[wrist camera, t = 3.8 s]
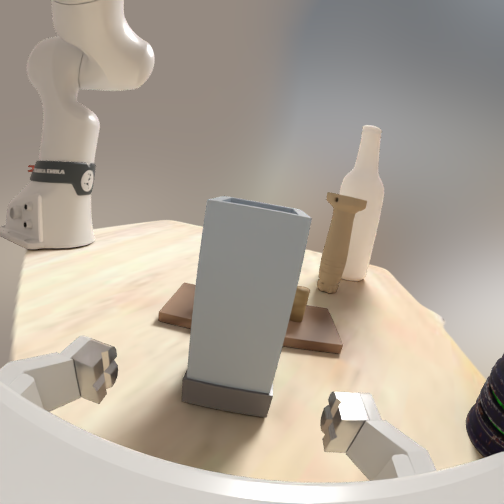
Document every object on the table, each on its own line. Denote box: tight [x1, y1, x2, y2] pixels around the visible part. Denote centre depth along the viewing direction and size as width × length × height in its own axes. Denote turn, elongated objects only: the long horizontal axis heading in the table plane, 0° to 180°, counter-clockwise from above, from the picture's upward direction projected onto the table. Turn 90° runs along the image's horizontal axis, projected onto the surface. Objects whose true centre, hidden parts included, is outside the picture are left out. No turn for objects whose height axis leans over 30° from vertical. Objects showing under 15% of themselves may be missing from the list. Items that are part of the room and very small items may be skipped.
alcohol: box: [339, 125, 384, 281], centre depth 54 cm, size 9×9×30 cm
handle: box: [317, 192, 367, 293], centre depth 44 cm, size 5×6×15 cm
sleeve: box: [182, 196, 312, 417], centre depth 18 cm, size 6×6×13 cm
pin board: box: [159, 283, 343, 353], centre depth 31 cm, size 18×9×4 cm, turn 86°
